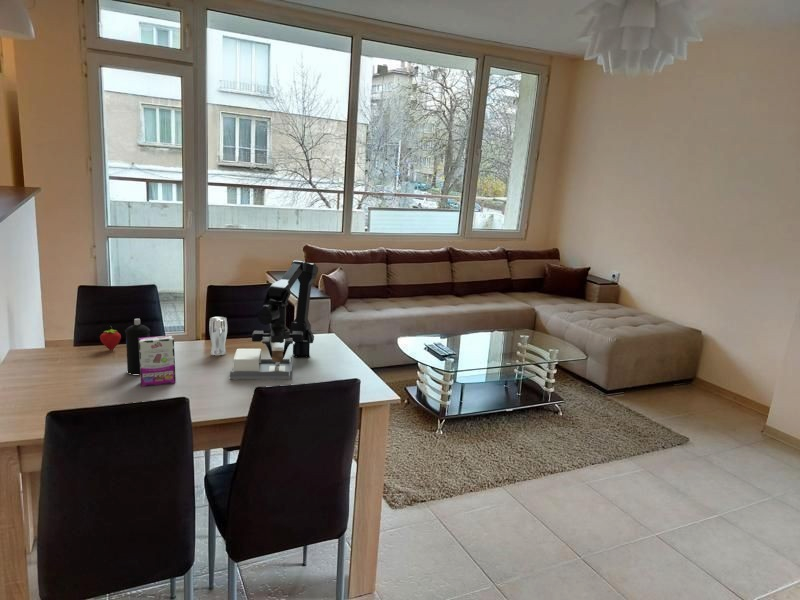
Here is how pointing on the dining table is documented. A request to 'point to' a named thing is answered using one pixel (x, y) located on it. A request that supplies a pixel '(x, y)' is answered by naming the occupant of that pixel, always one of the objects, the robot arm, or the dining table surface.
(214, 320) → the beer glass
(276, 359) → the walnut block
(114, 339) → the strawberry
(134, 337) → the black bottle
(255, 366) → the cover
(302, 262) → the robot arm
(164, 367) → the candy bar box
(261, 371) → the housing base
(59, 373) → the dining table surface
